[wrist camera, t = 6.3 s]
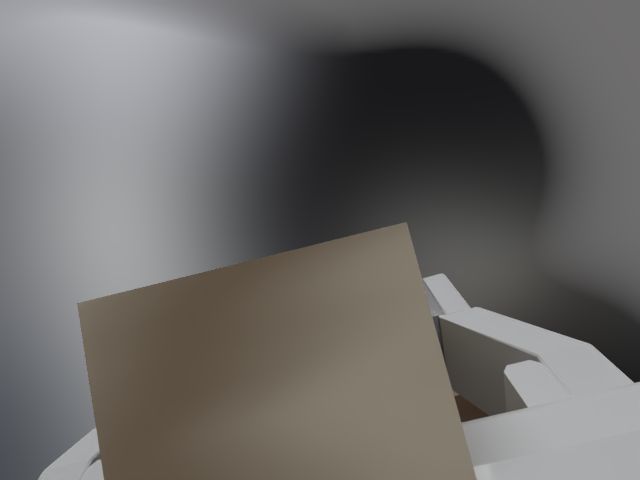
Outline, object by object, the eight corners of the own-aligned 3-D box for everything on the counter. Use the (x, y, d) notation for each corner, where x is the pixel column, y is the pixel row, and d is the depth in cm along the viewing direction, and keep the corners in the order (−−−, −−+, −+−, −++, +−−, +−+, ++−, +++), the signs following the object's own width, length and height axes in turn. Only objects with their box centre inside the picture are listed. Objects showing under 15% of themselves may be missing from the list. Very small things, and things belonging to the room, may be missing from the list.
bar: (134, 677, 4) (78, 303, 4) (314, 349, 22) (300, 290, 23) (510, 601, 3) (406, 222, 4) (373, 335, 22) (358, 276, 23)
